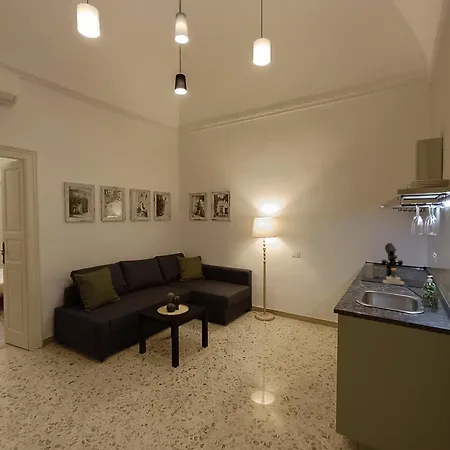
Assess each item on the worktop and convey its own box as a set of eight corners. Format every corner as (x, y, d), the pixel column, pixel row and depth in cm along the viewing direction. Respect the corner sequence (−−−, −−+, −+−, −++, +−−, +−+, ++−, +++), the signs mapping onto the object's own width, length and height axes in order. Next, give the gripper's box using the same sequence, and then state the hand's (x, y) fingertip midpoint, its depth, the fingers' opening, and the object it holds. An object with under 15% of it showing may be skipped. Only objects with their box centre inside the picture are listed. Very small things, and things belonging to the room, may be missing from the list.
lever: (391, 276, 291) (391, 268, 286) (395, 276, 289) (395, 268, 284) (391, 277, 289) (391, 269, 284) (395, 277, 287) (396, 269, 282)
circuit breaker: (380, 278, 308) (380, 264, 308) (366, 278, 311) (366, 264, 310) (378, 276, 316) (378, 263, 315) (364, 276, 319) (364, 263, 318)
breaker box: (382, 281, 298) (382, 274, 297) (403, 282, 290) (403, 275, 290) (383, 283, 289) (383, 276, 288) (404, 285, 281) (404, 277, 281)
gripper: (381, 252, 304) (382, 264, 295) (402, 252, 296) (403, 265, 287) (381, 258, 312) (382, 270, 303) (401, 258, 304) (402, 271, 294)
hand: (392, 269), depth 296 cm, fingers closed
